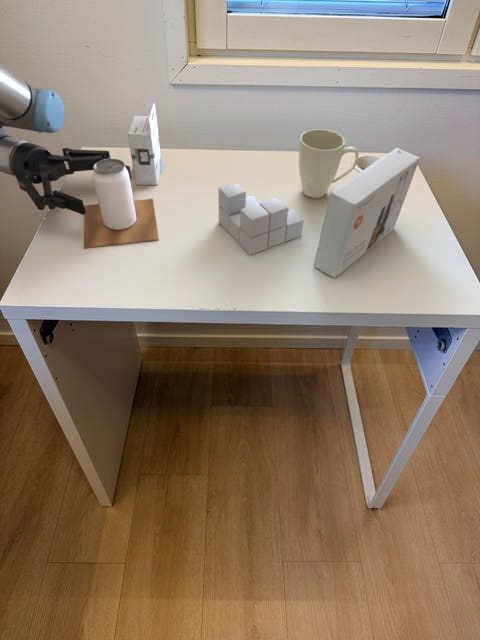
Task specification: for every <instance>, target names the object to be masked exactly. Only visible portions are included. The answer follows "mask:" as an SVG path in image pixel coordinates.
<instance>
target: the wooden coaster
mask: <svg viewBox="0 0 480 640" xmlns="http://www.w3.org/2000/svg"><path fill="white" fill-rule="evenodd" d="M134 206H135V212H136V222H135V223H134V224H133V225H132V226H131V227H130V228H127V229H124V230H112V229H110V228H108V227H107V226H105V224H104V222H103V218H102V214H101V210H100V205H99V203H95V204H86V205H85V204H84V207H85V211H86V213H85V214H84V215H83V216H84V218H83V219H84V220H83V249H94V248H102V247H110V246H120V245H127V244H128V245H129V244H139V243H148V242H156V241H157V242H158V241H160V239H159V233H158V226H157V225H158V224H157V218H156V212H155V205H154V199H153V198H148V199H137V200H134Z"/></svg>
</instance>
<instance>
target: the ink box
mask: <svg viewBox="0 0 480 640" xmlns="http://www.w3.org/2000/svg"><path fill="white" fill-rule="evenodd" d="M127 138H128V143H129V144H128V145H129V149H130V150H129V151H130V156H131V162H132V168H133V175H134V181H135V185H137V186H157V185H158V184H159V180H160V175H161V172H162V166H163V165H162V154H161V146H160V139H159V128H158V119H157V110H156V104H155V102H153V103H152V106H151V110H150V113H149V115H134V116H133V119H132V122H131V124H130V126H129V129H128V132H127Z"/></svg>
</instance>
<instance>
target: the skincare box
mask: <svg viewBox="0 0 480 640" xmlns="http://www.w3.org/2000/svg"><path fill="white" fill-rule="evenodd" d="M420 159H421V157H420V156H417V155H415V154H413V153H411V152H408V151H406V150H403V149H401V148H399V147H395V148H394V149H392V150H391V151H390V152H388V153H387V154H385V155H384V156H382V157H380V158H379V159H378V160H375V162H373V163H371V164H370V165H369V166H367V167H365V168H364V169H362V170H361V171H359V172H358V173H356V174H355V175H353V176H352V177H350V178H349V179H347V180H345V181H344V182H343V183H341V184H340V185H338V186H337V187H335V188H334V189H332V190H331V191H330V192H329V197H328V201H327V205H326V211H325V214H324V219H323V223H322V227H321V231H320V235H319V241H318V245H317V249H316V253H315V257H314V261H313V267H315V268H316V269H318V270H320V271H321V272H323V273H324V274H326V275H328V276H330V277H331V278H333V279H336V278H337V277H338V276H339V275H340V274H342V273H343V272H344V271H346V269H348V268H349V267H350V266H351V265H353V264H354V263H355V262H356V261H357V260H359V259H360V258H361V257H362V256H363V255H364V254H366V253H367V252H368V251H369V250H371V249H372V248H373V247H374V246H375V245H377V244H378V243H379V242H380V241H381V240H382V239H384V238H385V237H386V236H388V235H389V234H390V233H392V231H393V230H394V229H395V227H396V224H397V221H398V219H399V216H400V214H401V211H402V208H403V206H404V203H405V199H406V197H407V195H408V191H409V189H410V186H411V183H412V181H413V179H414V176H415V173H416V170H417V167H418V165H419V162H420Z"/></svg>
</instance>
